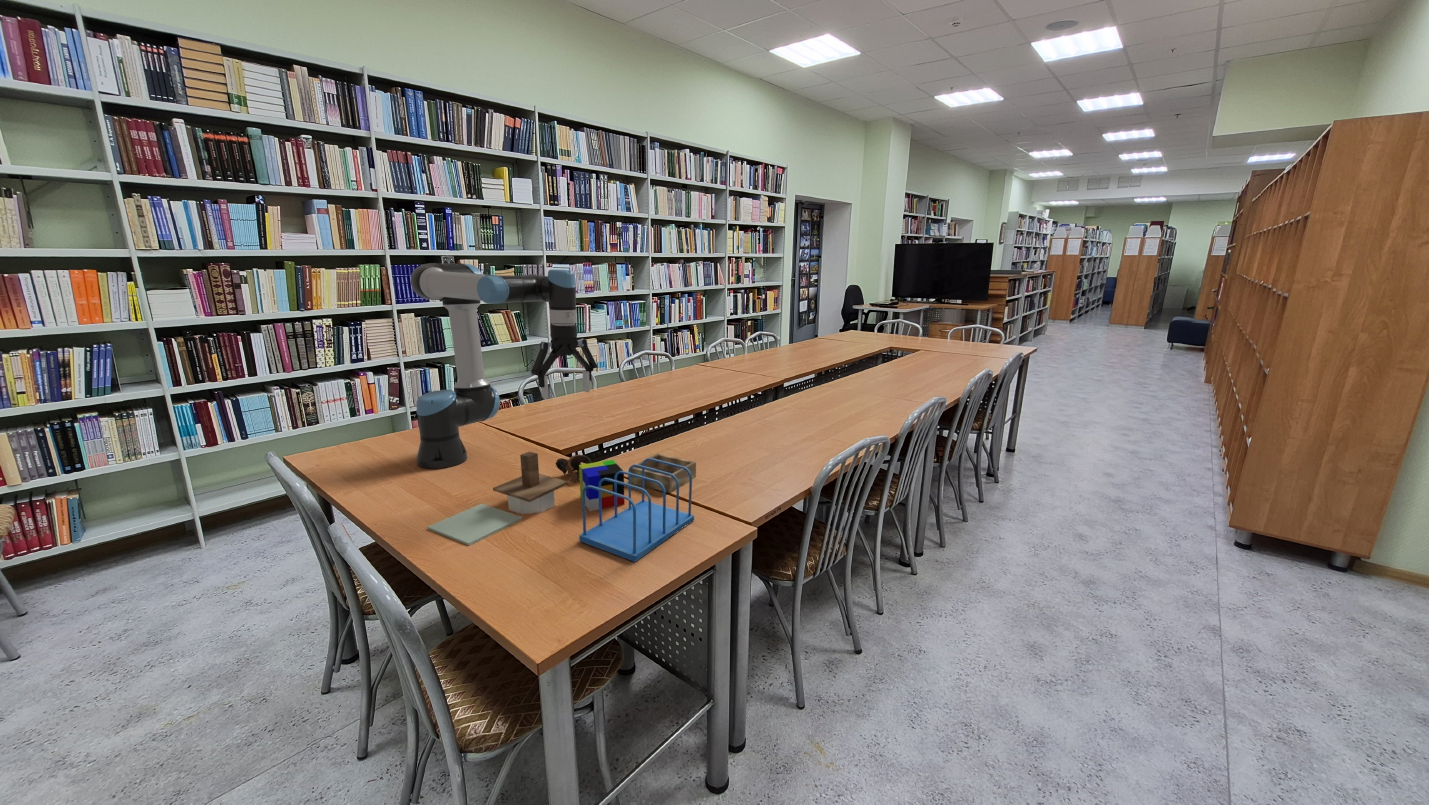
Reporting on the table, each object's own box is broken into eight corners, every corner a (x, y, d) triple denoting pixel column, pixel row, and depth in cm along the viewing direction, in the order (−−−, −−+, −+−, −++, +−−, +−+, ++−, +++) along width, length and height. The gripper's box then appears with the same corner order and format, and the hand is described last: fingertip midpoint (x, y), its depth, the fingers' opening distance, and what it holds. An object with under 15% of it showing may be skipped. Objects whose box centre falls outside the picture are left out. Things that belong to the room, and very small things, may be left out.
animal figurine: (594, 471, 177) (597, 455, 172) (586, 494, 170) (589, 477, 164) (558, 462, 176) (560, 445, 170) (549, 484, 169) (550, 468, 163)
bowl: (500, 506, 149) (498, 490, 148) (533, 491, 159) (532, 476, 158) (530, 517, 143) (529, 500, 142) (563, 501, 153) (562, 484, 152)
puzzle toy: (589, 511, 148) (588, 477, 145) (580, 497, 156) (579, 464, 154) (624, 504, 152) (623, 471, 150) (613, 491, 161) (613, 459, 158)
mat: (427, 528, 136) (427, 526, 136) (481, 505, 150) (481, 503, 149) (469, 545, 128) (469, 543, 128) (522, 519, 142) (522, 517, 142)
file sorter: (635, 563, 123) (634, 501, 119) (578, 542, 131) (576, 484, 127) (694, 521, 144) (695, 467, 140) (642, 505, 152) (642, 454, 148)
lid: (493, 490, 147) (490, 456, 145) (532, 474, 159) (530, 442, 157) (529, 502, 141) (527, 466, 138) (568, 484, 153) (566, 451, 150)
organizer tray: (629, 482, 167) (629, 467, 166) (657, 467, 180) (657, 453, 179) (669, 493, 160) (669, 477, 159) (695, 476, 173) (696, 462, 172)
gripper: (528, 327, 146) (532, 403, 152) (607, 323, 163) (608, 391, 168) (516, 324, 152) (520, 397, 157) (594, 320, 168) (596, 386, 174)
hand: (566, 394), depth 163 cm, fingers open, 13 cm apart
